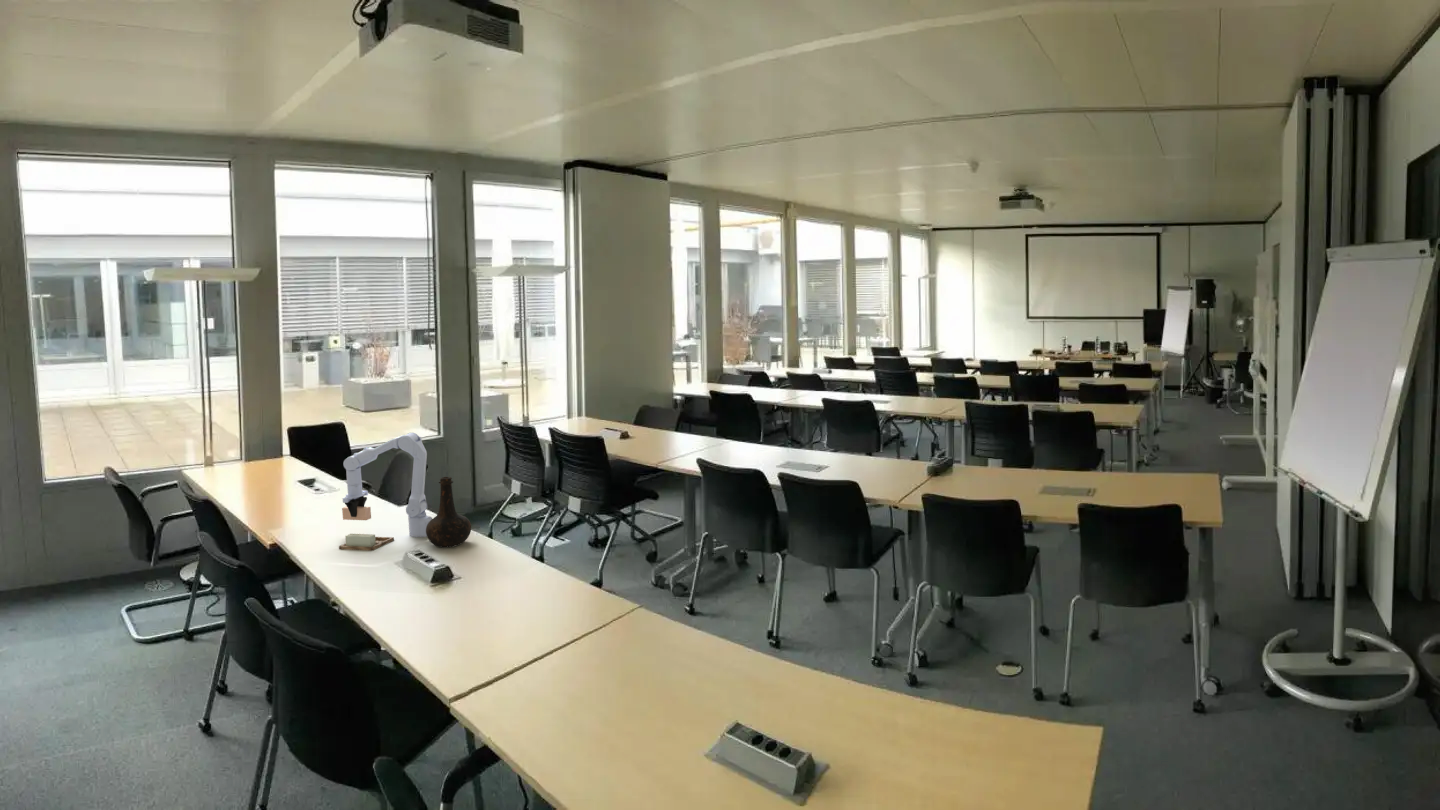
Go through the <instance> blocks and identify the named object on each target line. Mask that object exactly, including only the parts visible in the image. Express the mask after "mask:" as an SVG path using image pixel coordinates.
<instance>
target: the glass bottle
mask: <svg viewBox="0 0 1440 810" xmlns="http://www.w3.org/2000/svg"><path fill="white" fill-rule="evenodd" d="M452 479H453V478H452V476H443V477H440V479H439V482H438V484H440V489H439V490H440V491H439V493H440V497H439V498H440V499H439V507H438V512H437V514H436V515H435V516H434V517H432V520H430V522H429V523H428V524H427V527H426V535H427V537H426V538H427V539H428V540H429V542H430V543H431V544H432V545H434V546H436V547H437V548H453V546H454V547H458V546H460V545H461V544H463V543H465V542H466V541H467V539H468V538H469V537H470V534H471V532H472V523H471V522H470V520H469V518H468V517H466V516H465V515H463V514H459V513H457V511H456V507H455V502H454V494H453V486H452V484H453V483H454V480H452Z"/></svg>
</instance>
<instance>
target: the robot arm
mask: <svg viewBox="0 0 1440 810" xmlns="http://www.w3.org/2000/svg"><path fill="white" fill-rule="evenodd" d="M422 439H423V438H421V436H419V435H418V434H417V433H415V432H409V433H407V434H402V435H399V436H397V437H394V438H391V439H390V440H387V441H386V442H384V443H382V444H380V445H379V446H376V447H371V446H370V447H367V446H366V447H364V448H363V450H361V451H359V452H354V453H353V455H350V456H348V457H347V458H345V459H344V460H343V468H344V469H345V471H346V474H345V475H346V485H347V487H346V488H347V493H346V494H345V496H344V497H343V498H342V503H344V504H345V507H346V506H347V507H348V509H349V512H350V514H351V517H357V506H361V507H365V504H366V502H367V500H368V497H367V496H369V491H368V490H363V481H362V480H363V479H362V468H361V467H362V466H365V465H368V464H369V463H371V462H373V461H376V460H377V458H378V456H379V455H380V454H383V453H385V452H388V451H390V450H391V449H397V450H398V449H400V450H402V451H404V452H405V453H408V454H409V455H410V456H411V457H412V458H413V466H412V477H411V493H410V496H409V499H408V504H407V505H406V507H405V513H406V514H407V517H408V531H409V534H408V535H409V537H411V538H420V537H421V538H428V537H427V535H426V527H427V524H428V523H429V522H430V520H432V519H433V517H432V516H429V515H427V512H426V510H427V509H428V502H427V499H426V495H425V487H426V486H425V485H426V484H425V482H426V471H427V457H428V452H427V450H426V448H425V445H424V444H423V440H422Z"/></svg>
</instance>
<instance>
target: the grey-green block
mask: <svg viewBox="0 0 1440 810" xmlns="http://www.w3.org/2000/svg"><path fill="white" fill-rule="evenodd" d="M375 537H376V534H374V533H373V534H370V533H369V534H368V533H366V534H365V533H349V534H347V535H345V543H346V546H362V547H373V546H375V545H376V541H375Z"/></svg>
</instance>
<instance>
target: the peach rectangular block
mask: <svg viewBox="0 0 1440 810" xmlns="http://www.w3.org/2000/svg"><path fill="white" fill-rule="evenodd" d="M341 511H342V520H344V521H345V520H347V521H368V520H371V519H372V512H371V506H364V507H361V506H357V517H351V514H350V512H349V509H348V507H347V506H346V505H345V506H344V507H342V508H341Z"/></svg>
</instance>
